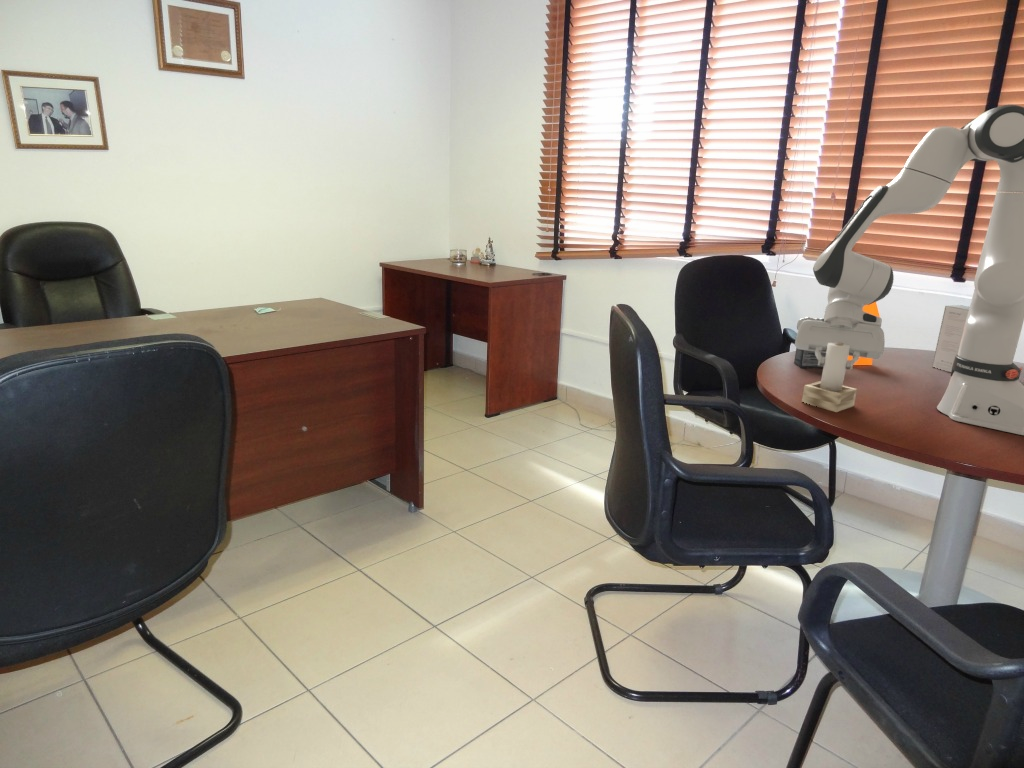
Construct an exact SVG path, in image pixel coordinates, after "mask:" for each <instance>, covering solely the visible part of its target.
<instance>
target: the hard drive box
mask: <svg viewBox="0 0 1024 768" xmlns="http://www.w3.org/2000/svg"><path fill="white" fill-rule="evenodd" d="M969 308H970V305H968V306H967V305H961V304H960V305H959V304H958V305H956V304H953V305H945V306H944V310H943V315H942V319H941V325H940V328H939V334H938V336H937V337H938V338H937V342H936V347H935V352H934V356H933V359H932V360H933V361H932V364H931V365H932V366H931V367H932V368H933V367H935V368H934V369H937V368H938V370H940V369H941V370H940V371H943V370H945V371H944V372H947V373H951V368H952V364H953V361H954V359H955V356H956V355H958V351H959V347H960V343H961V339H962V335H963V331H964V326H965V322H966V319H967V316H968V312H969Z"/></svg>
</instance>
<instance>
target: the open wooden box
mask: <svg viewBox="0 0 1024 768" xmlns="http://www.w3.org/2000/svg"><path fill="white" fill-rule="evenodd" d="M820 384H821V380H819V381H815V382H812V383H809V384H804V386H803V393H802V399H801V403H802V402H804V403H803V404H806V403H807V404H806V405H809V404H810V406H813V407H816V406H817V408H820V409H824V410H827V411H831V412H834V413H838V412H841V411H844V410H846V409H850V408H853V407H854V406H855V401H856V398H857V397H856V396H857V394H858V393H857V392H858V388H855V387H850V386H847V385H843V386H842V391H841V392H833V391H829V390H825V389H822V388H820Z"/></svg>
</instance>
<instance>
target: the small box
mask: <svg viewBox="0 0 1024 768" xmlns="http://www.w3.org/2000/svg"><path fill="white" fill-rule="evenodd" d="M821 356H822V357H825V356H826V353H824V352H821ZM793 364H794V365H796V366H797V367H798V368H799V367H800V369H812V368H815V369H816V370H817V369H818V370H823V367H824V366H819V365H818V359H817V357H816V356H815V351H808V350H800V349H797V348H796V347H795V355H794V362H793Z"/></svg>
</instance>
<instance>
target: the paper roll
mask: <svg viewBox="0 0 1024 768" xmlns="http://www.w3.org/2000/svg"><path fill="white" fill-rule="evenodd" d="M849 349H850V345H847V344H843V343H840V342H835V343H834V342H831V343H828V345H827V351H826V356H825V362H824V367H823V369H822V373H821V378H820V381H821V384H820V388H822V389H825V390H829V391H833V392H841V391H842V386H844V380H845V374H846V371H847V369H846V365H847V360H848V355H849Z"/></svg>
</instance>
